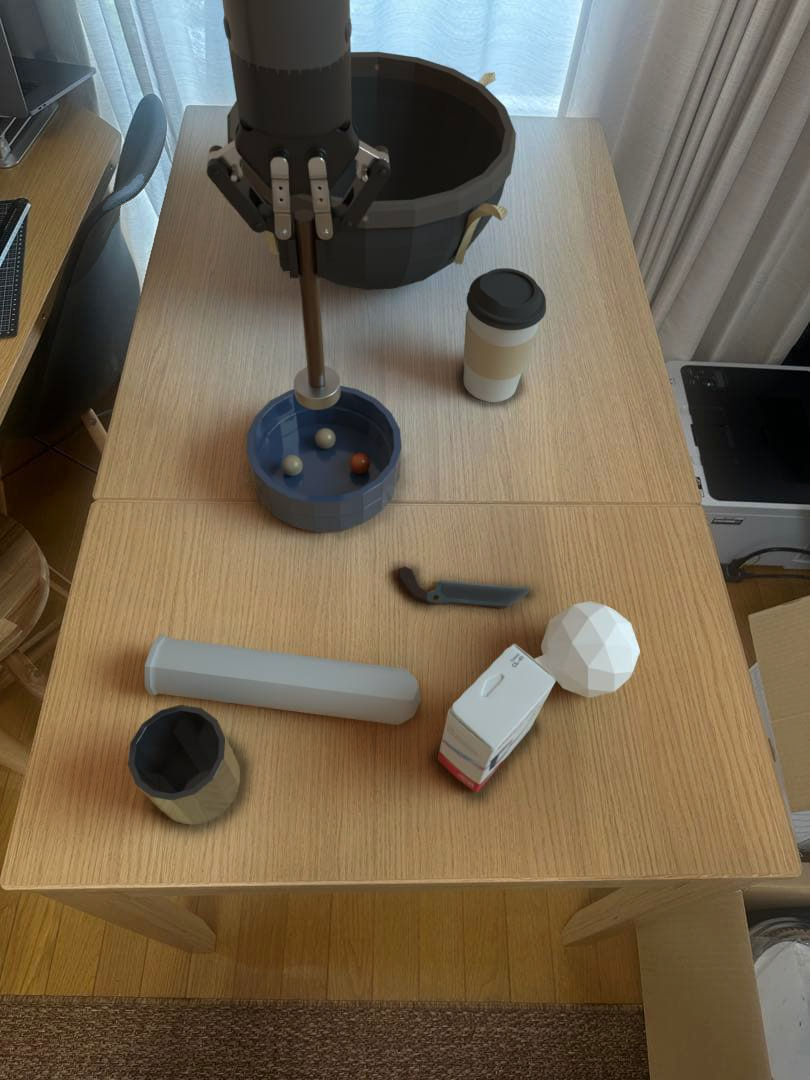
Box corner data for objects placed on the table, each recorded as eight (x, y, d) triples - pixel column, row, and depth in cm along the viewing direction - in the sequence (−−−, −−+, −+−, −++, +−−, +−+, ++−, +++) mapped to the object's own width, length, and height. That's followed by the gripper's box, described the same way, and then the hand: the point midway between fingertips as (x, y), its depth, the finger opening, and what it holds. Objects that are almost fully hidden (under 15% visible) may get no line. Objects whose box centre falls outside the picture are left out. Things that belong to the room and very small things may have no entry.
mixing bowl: (250, 537, 80) (243, 505, 75) (255, 421, 89) (249, 385, 84) (403, 531, 81) (406, 499, 76) (393, 418, 90) (395, 382, 85)
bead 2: (315, 453, 86) (314, 440, 84) (315, 437, 87) (314, 423, 85) (336, 452, 86) (335, 439, 84) (335, 437, 87) (335, 423, 85)
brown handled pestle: (294, 410, 70) (273, 234, 54) (295, 377, 73) (275, 198, 57) (341, 409, 71) (333, 233, 55) (340, 376, 73) (332, 198, 57)
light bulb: (597, 596, 76) (491, 640, 74) (628, 580, 67) (508, 630, 65) (635, 675, 74) (527, 723, 73) (671, 670, 65) (550, 724, 64)
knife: (395, 601, 76) (395, 598, 76) (398, 568, 79) (398, 565, 78) (530, 613, 76) (531, 610, 76) (529, 579, 79) (531, 576, 78)
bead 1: (282, 480, 83) (280, 467, 81) (282, 463, 85) (280, 450, 83) (303, 479, 84) (302, 466, 82) (303, 463, 85) (302, 449, 83)
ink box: (474, 795, 66) (494, 757, 56) (432, 756, 68) (444, 712, 58) (533, 727, 70) (561, 679, 60) (492, 691, 72) (513, 640, 62)
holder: (150, 828, 64) (122, 803, 56) (159, 741, 68) (134, 707, 60) (238, 822, 64) (221, 797, 57) (242, 736, 68) (227, 702, 61)
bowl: (488, 196, 116) (510, 57, 99) (499, 356, 97) (528, 218, 80) (261, 183, 115) (244, 40, 98) (228, 342, 96) (199, 199, 79)
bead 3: (349, 478, 84) (349, 465, 82) (348, 462, 85) (348, 448, 83) (370, 477, 84) (370, 464, 82) (369, 461, 86) (369, 448, 84)
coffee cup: (491, 347, 98) (511, 248, 85) (540, 387, 94) (567, 290, 82) (440, 376, 94) (452, 278, 82) (488, 419, 91) (509, 323, 78)
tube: (426, 658, 69) (161, 623, 69) (422, 703, 65) (140, 666, 65) (420, 695, 72) (167, 662, 73) (415, 740, 68) (147, 705, 68)
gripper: (396, 8, 48) (389, 242, 63) (181, 4, 47) (225, 243, 62) (404, 66, 44) (395, 302, 59) (169, 63, 43) (219, 303, 58)
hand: (307, 271), depth 60 cm, fingers closed on brown handled pestle
